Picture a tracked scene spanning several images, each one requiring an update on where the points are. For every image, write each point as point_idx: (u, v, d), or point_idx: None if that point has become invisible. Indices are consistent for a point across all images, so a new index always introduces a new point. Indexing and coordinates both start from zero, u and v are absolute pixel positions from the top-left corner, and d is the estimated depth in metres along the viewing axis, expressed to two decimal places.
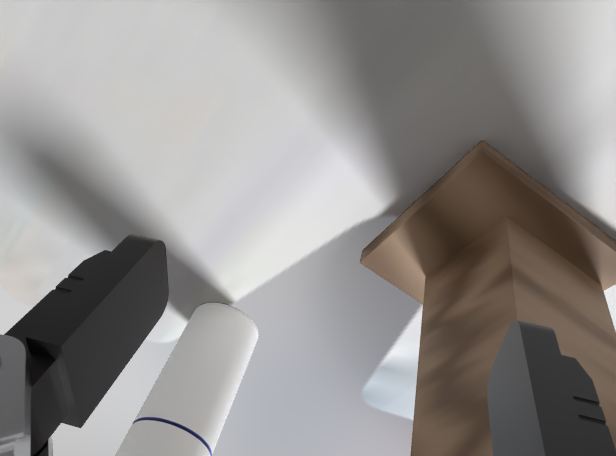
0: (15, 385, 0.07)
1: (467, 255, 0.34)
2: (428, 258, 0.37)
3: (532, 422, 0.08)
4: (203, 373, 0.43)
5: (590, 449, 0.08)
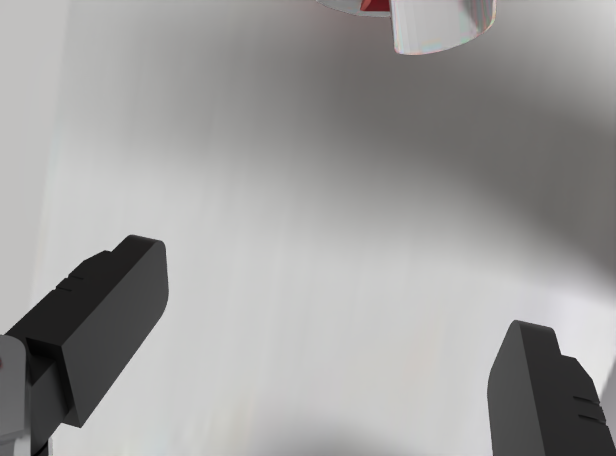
0: (15, 385, 0.07)
1: None
2: None
3: (532, 422, 0.08)
4: None
5: (590, 449, 0.08)
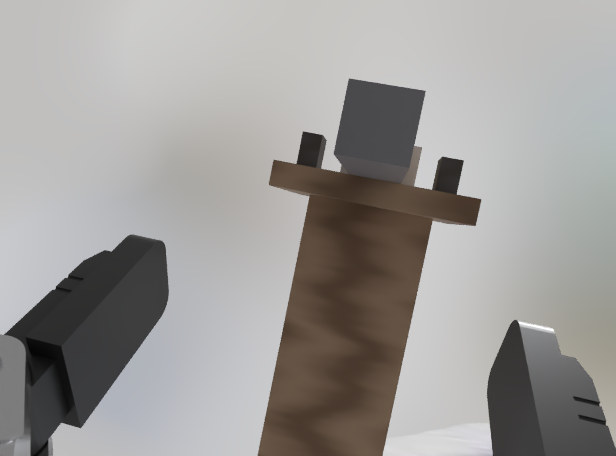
0: (15, 385, 0.07)
1: None
2: None
3: (532, 422, 0.08)
4: None
5: (590, 449, 0.08)
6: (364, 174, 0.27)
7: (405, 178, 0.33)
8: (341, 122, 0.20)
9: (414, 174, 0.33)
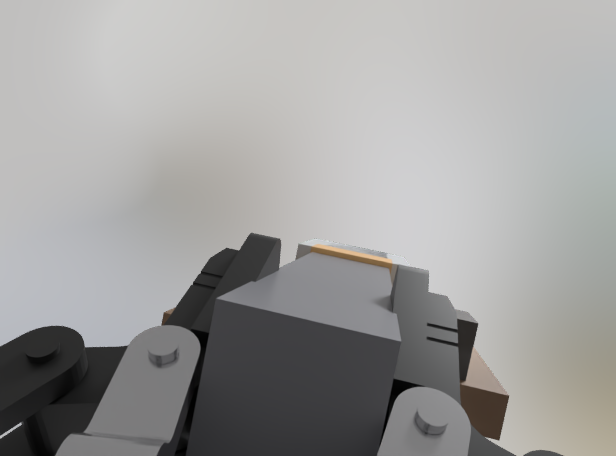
0: None
1: None
2: None
3: None
4: None
5: (435, 363, 0.09)
6: None
7: None
8: (199, 402, 0.08)
9: None
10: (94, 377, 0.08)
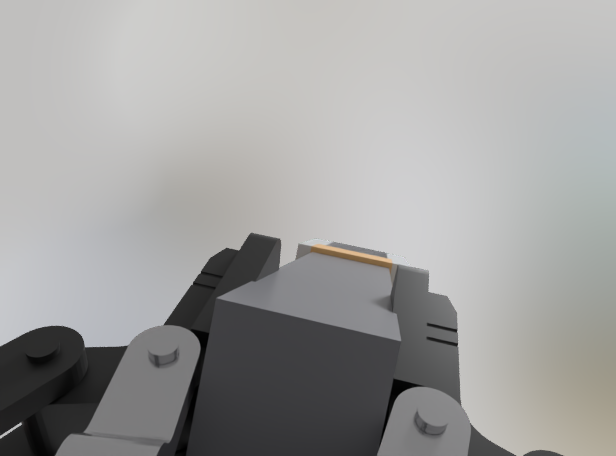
0: None
1: None
2: None
3: None
4: None
5: (435, 363, 0.09)
6: None
7: None
8: (199, 401, 0.08)
9: None
10: (94, 377, 0.08)
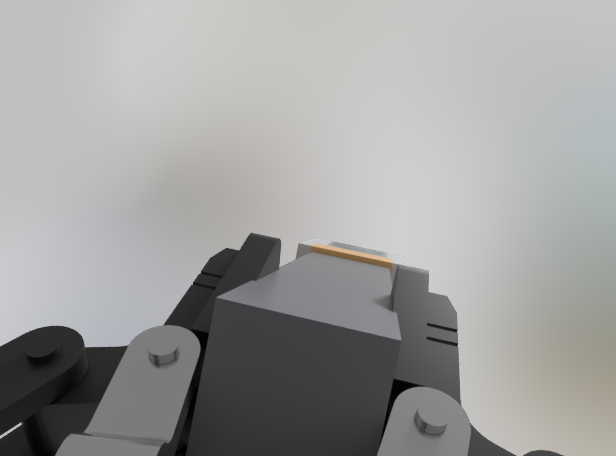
0: None
1: None
2: None
3: None
4: None
5: (435, 363, 0.09)
6: None
7: None
8: (199, 401, 0.08)
9: None
10: (94, 377, 0.08)
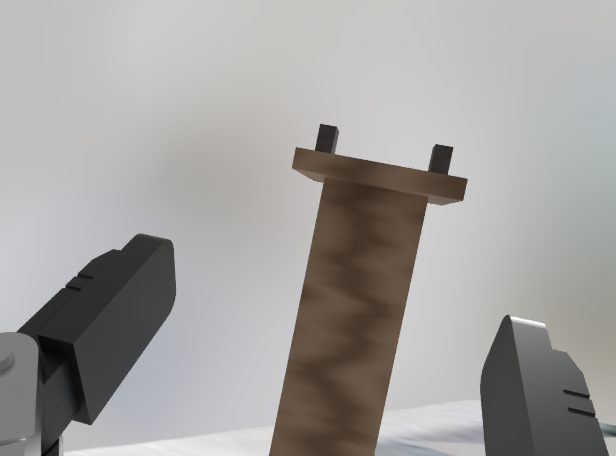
0: (29, 382, 0.07)
1: None
2: None
3: (522, 414, 0.08)
4: None
5: (579, 441, 0.08)
6: None
7: None
8: None
9: None
10: None
